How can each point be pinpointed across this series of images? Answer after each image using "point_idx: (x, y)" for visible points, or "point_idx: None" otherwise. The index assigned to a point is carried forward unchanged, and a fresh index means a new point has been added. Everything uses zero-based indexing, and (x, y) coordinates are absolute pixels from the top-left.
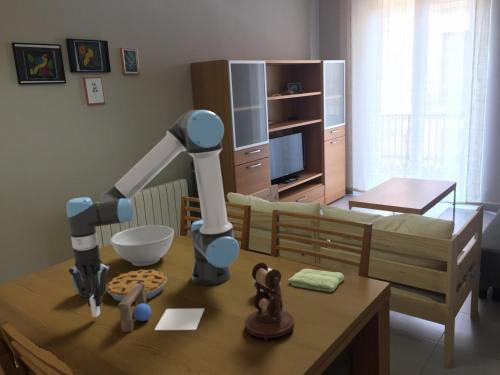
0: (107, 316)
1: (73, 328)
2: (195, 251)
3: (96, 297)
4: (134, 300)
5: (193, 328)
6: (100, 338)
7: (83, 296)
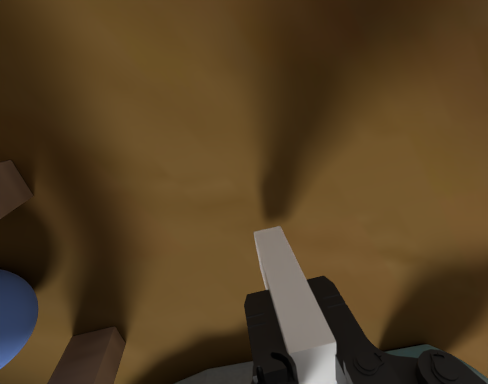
0: (233, 266)
1: (350, 134)
2: None
3: (253, 375)
4: (193, 377)
5: None
6: (93, 56)
7: (422, 345)
